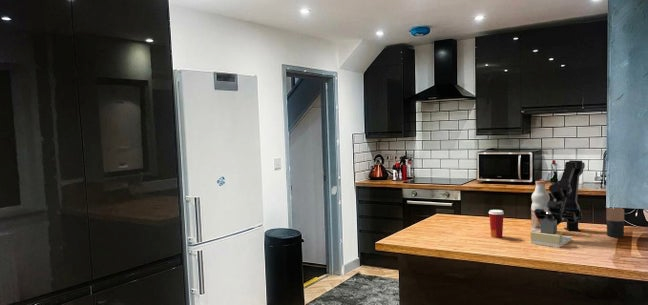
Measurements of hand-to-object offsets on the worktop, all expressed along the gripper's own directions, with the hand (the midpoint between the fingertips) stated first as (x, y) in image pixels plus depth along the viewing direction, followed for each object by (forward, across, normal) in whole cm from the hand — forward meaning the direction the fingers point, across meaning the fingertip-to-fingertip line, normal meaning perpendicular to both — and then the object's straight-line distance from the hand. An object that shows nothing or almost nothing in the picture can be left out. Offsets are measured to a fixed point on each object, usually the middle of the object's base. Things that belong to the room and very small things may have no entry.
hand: (551, 229), depth 219 cm
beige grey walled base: (+4, 0, +5) cm, 7 cm away
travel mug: (-17, +21, +26) cm, 38 cm away
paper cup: (+9, -26, +1) cm, 27 cm away
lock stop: (+6, 0, +1) cm, 6 cm away
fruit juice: (-9, -12, +19) cm, 24 cm away
